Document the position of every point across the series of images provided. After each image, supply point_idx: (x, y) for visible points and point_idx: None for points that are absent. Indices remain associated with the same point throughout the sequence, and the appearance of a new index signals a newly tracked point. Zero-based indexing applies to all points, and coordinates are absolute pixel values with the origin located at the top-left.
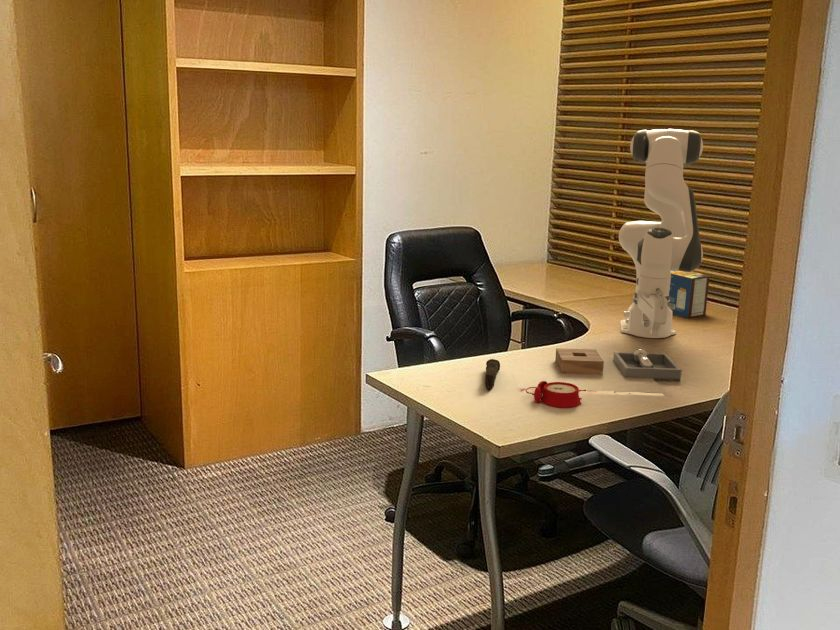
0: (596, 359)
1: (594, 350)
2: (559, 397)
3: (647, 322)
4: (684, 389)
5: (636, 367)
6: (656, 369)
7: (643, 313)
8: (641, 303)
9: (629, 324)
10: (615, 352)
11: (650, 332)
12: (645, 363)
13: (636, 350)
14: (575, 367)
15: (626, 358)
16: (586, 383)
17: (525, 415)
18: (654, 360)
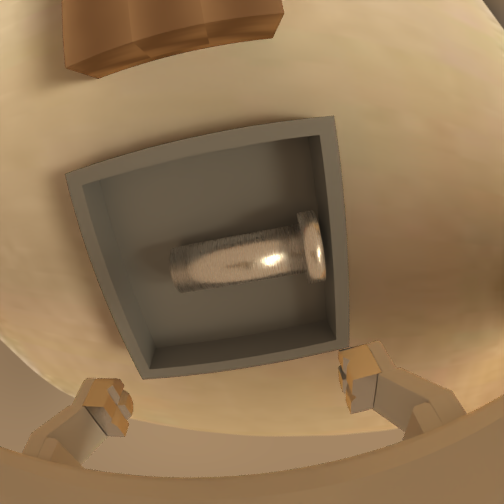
0: (85, 30)
1: (256, 5)
2: None
3: (348, 394)
4: (83, 349)
5: (236, 217)
6: (106, 301)
7: (413, 419)
8: (468, 500)
9: None
10: (328, 123)
11: (110, 385)
12: (172, 264)
13: (320, 234)
14: None
15: (318, 178)
16: (26, 45)
17: None
18: (327, 295)
